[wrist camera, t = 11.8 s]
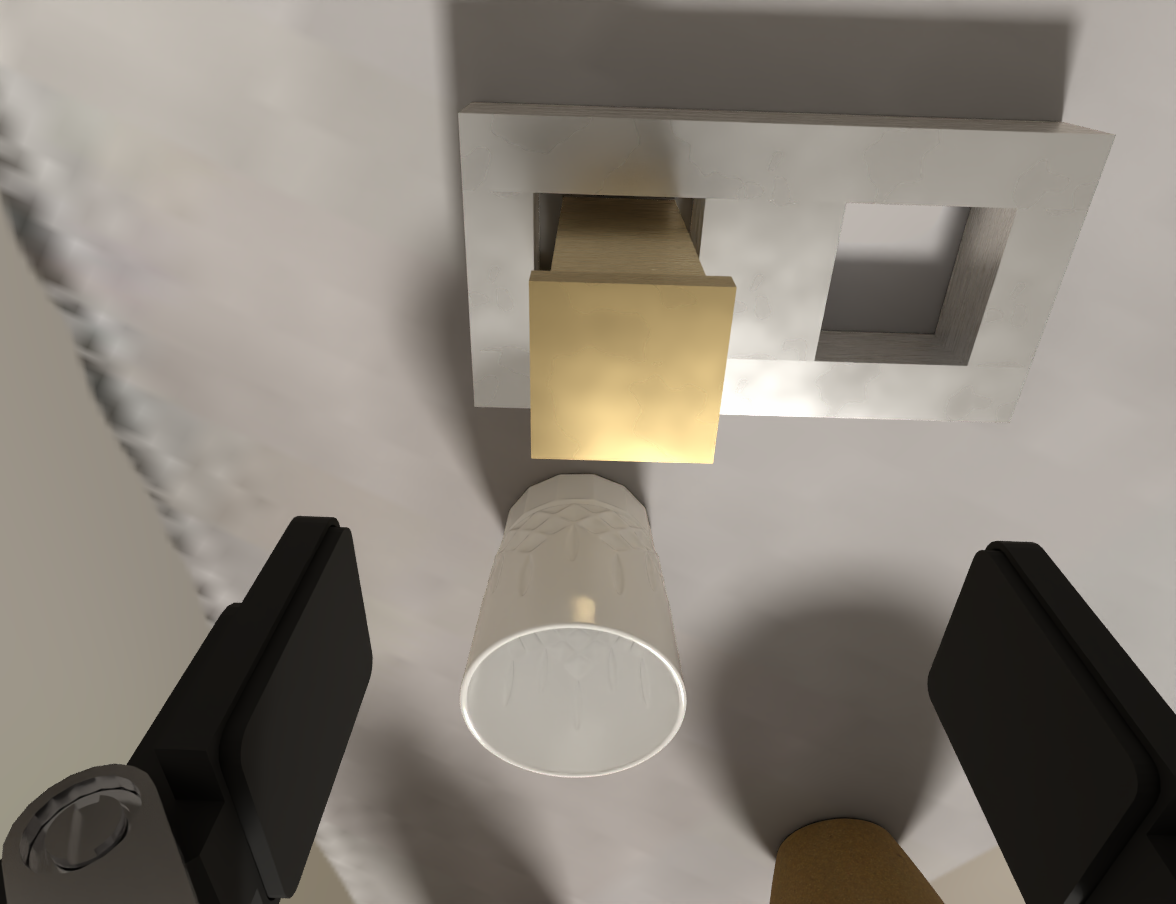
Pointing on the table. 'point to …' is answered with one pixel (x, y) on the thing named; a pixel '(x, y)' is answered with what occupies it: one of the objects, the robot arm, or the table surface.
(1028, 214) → the rail
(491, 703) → the white cup
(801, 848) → the plant pot
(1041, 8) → the table surface
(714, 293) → the brass square peg
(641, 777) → the table surface
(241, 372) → the table surface
